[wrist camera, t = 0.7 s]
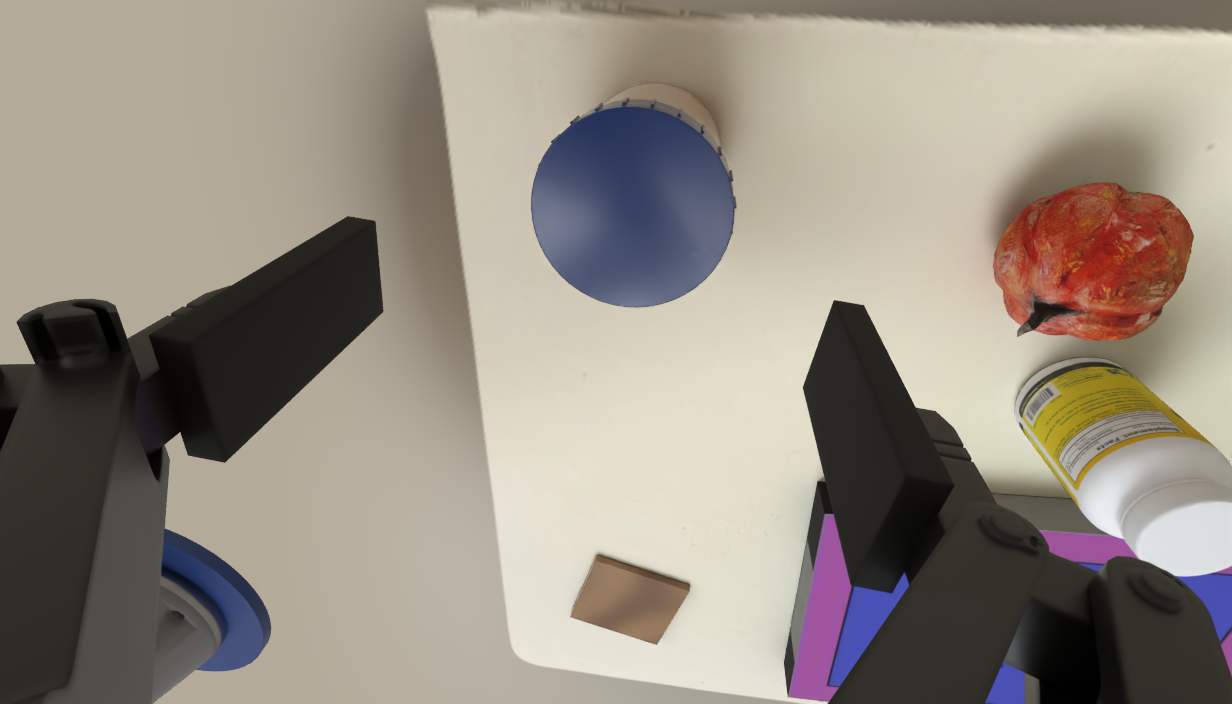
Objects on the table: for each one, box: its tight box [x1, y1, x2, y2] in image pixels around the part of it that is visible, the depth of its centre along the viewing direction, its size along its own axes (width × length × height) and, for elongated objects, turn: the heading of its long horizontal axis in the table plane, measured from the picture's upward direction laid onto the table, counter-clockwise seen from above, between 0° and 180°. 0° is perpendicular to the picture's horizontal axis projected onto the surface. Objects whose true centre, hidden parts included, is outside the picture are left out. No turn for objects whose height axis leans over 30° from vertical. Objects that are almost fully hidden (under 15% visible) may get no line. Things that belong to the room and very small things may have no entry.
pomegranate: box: [993, 183, 1194, 341], centre depth 28 cm, size 7×7×10 cm
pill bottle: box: [1015, 358, 1232, 576], centre depth 31 cm, size 6×6×11 cm
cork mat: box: [570, 555, 690, 645], centre depth 50 cm, size 8×8×1 cm
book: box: [784, 482, 1232, 704], centre depth 43 cm, size 21×3×30 cm
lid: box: [531, 97, 736, 307], centre depth 24 cm, size 8×8×2 cm
